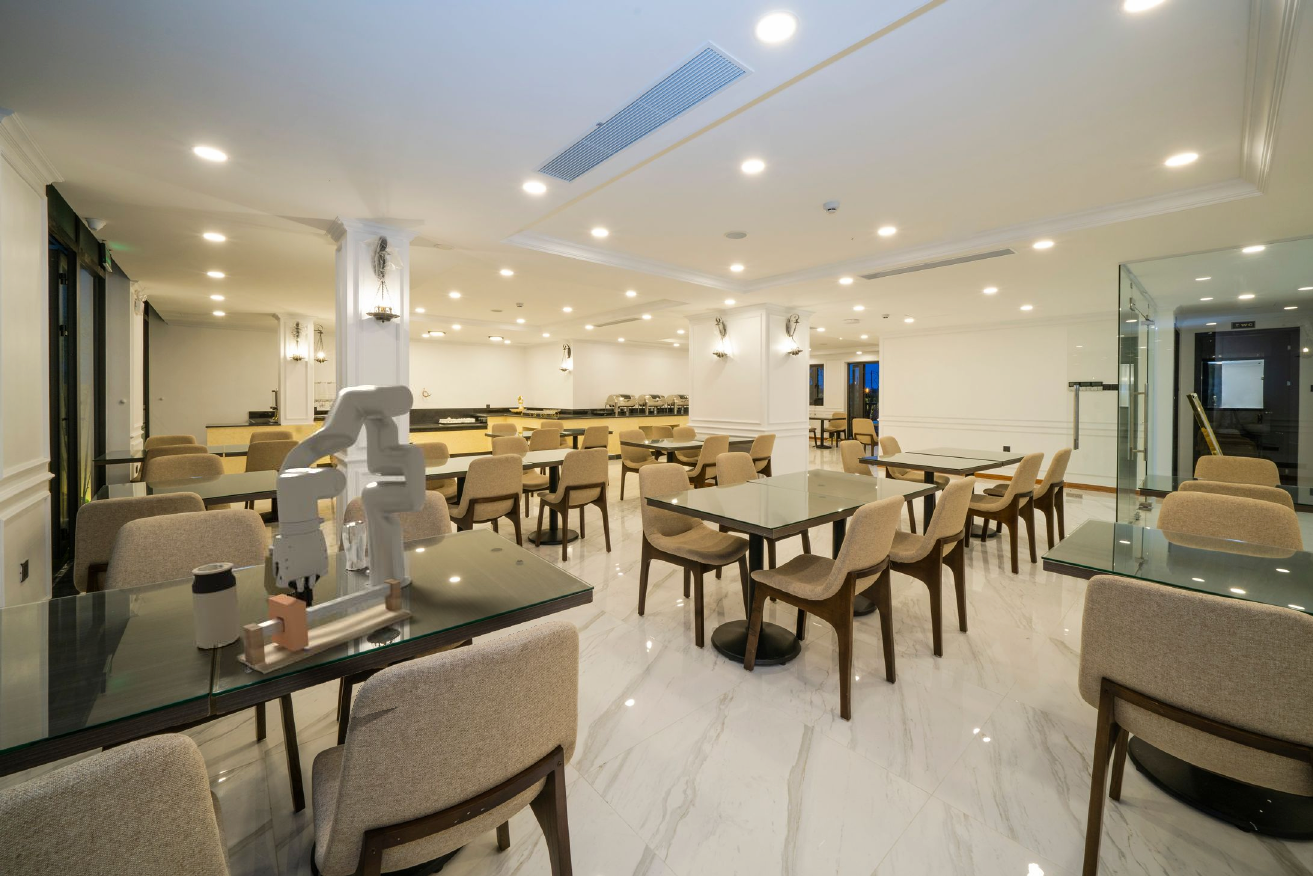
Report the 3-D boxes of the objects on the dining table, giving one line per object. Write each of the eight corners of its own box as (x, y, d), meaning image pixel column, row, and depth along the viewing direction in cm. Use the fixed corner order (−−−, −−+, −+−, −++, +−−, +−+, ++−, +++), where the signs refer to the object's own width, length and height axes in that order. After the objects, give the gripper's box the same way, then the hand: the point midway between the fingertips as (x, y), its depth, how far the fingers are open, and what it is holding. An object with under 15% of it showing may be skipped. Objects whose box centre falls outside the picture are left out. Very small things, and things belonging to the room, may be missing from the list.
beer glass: (344, 572, 178) (341, 527, 177) (344, 566, 184) (342, 522, 183) (368, 569, 181) (365, 524, 180) (368, 563, 187) (365, 520, 186)
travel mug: (205, 653, 123) (198, 575, 121) (191, 645, 127) (184, 569, 125) (246, 639, 129) (240, 565, 128) (231, 632, 134) (226, 560, 132)
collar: (271, 641, 124) (268, 598, 123) (285, 636, 127) (282, 593, 126) (294, 651, 119) (290, 606, 118) (308, 645, 122) (305, 602, 121)
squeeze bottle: (257, 597, 156) (253, 535, 155) (286, 588, 164) (282, 529, 162) (276, 601, 153) (272, 538, 152) (304, 591, 161) (300, 531, 159)
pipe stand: (237, 660, 119) (234, 622, 119) (383, 607, 148) (382, 576, 148) (264, 674, 113) (261, 634, 112) (411, 615, 142) (410, 584, 142)
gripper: (324, 518, 132) (329, 593, 134) (253, 532, 119) (259, 614, 121) (342, 522, 128) (346, 598, 130) (270, 536, 115) (276, 621, 117)
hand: (304, 606), depth 125 cm, fingers closed
